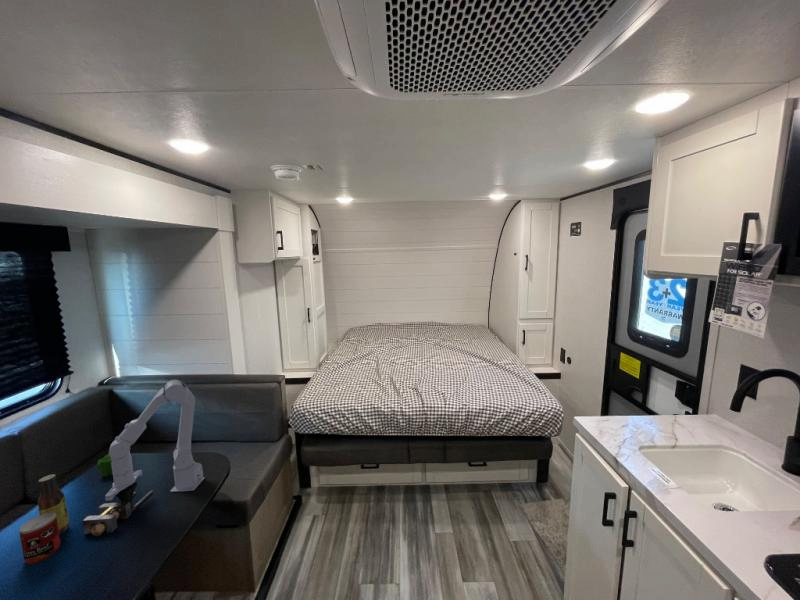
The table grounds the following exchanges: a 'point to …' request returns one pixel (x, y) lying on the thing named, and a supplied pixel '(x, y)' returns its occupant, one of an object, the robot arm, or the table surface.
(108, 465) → the bell pepper
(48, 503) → the sauce bottle
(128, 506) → the metal clamp tool
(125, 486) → the robot arm
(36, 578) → the table surface
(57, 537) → the canned food
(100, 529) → the tube
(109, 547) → the table surface
